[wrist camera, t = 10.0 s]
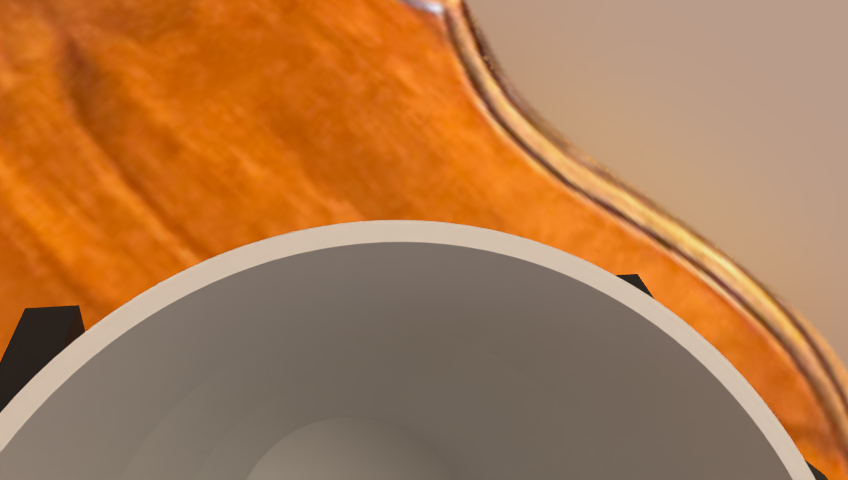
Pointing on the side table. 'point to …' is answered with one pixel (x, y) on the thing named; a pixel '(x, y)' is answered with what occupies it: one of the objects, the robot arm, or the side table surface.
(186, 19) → the side table surface
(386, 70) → the side table surface
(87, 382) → the cup
